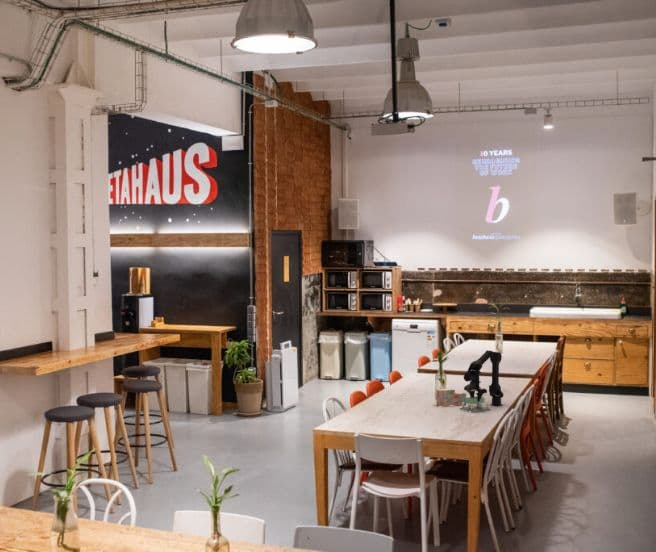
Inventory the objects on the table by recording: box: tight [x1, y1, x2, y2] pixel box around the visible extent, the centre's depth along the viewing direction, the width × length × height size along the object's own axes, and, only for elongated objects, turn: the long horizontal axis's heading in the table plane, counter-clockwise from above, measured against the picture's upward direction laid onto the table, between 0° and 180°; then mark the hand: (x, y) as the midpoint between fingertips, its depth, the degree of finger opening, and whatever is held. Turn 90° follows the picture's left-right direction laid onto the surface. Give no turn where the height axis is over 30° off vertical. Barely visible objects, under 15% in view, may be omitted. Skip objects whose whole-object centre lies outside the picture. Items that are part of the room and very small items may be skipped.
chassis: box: [459, 401, 492, 413], centre depth 580 cm, size 17×14×6 cm
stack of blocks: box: [435, 387, 467, 407], centre depth 597 cm, size 21×6×12 cm, turn 103°
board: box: [466, 395, 485, 405], centre depth 580 cm, size 12×6×4 cm, turn 121°
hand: (475, 401), depth 580 cm, fingers closed on board, 6 cm apart
